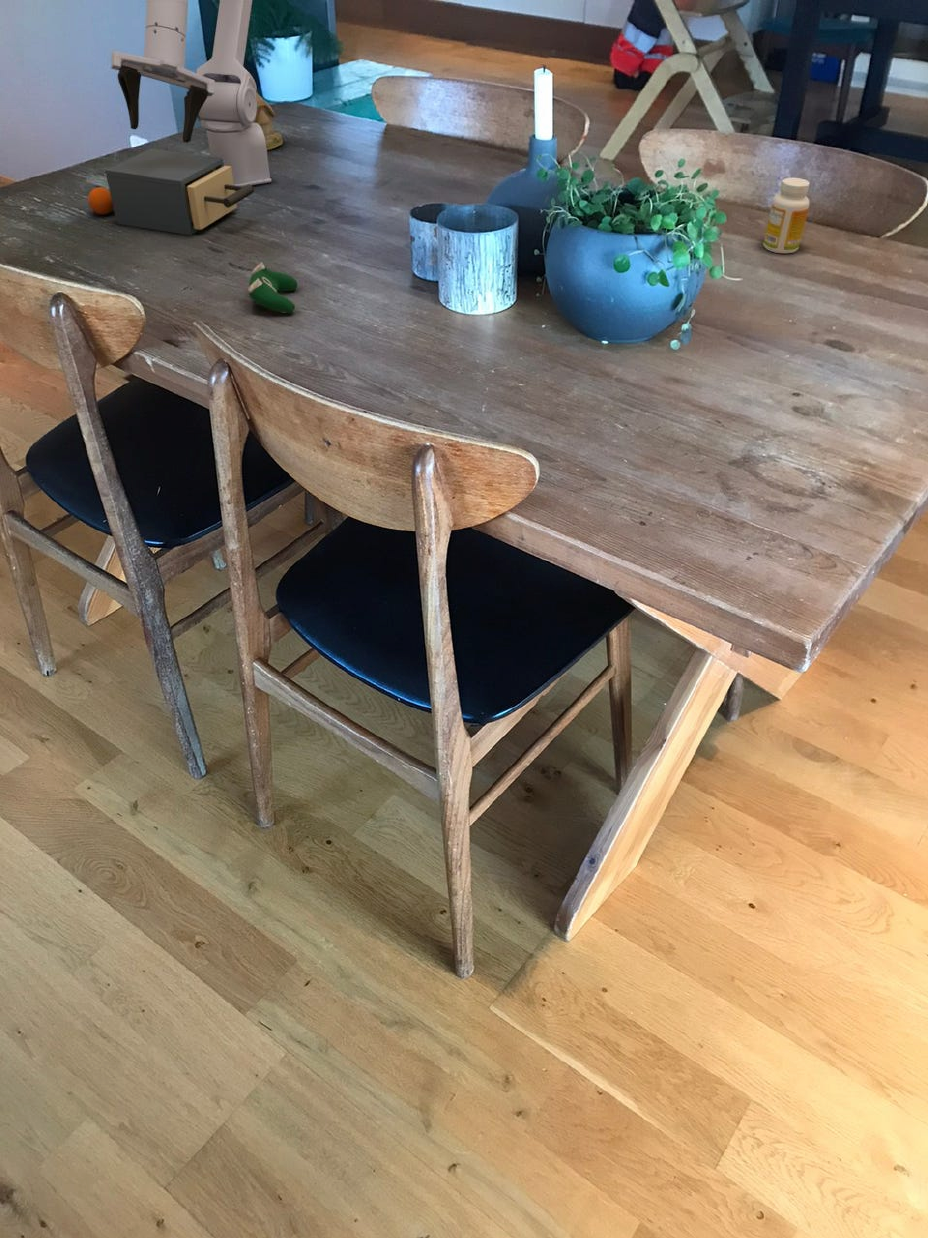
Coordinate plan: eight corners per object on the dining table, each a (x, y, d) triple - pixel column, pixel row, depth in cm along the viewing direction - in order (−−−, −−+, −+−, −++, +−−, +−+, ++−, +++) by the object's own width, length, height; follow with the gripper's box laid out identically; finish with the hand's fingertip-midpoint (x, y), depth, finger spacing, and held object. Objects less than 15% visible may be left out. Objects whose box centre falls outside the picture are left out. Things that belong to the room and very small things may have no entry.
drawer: (263, 211, 151) (258, 169, 146) (228, 234, 143) (221, 191, 139) (172, 197, 155) (164, 156, 151) (133, 218, 148) (123, 177, 143)
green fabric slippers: (283, 300, 132) (248, 271, 129) (299, 280, 130) (265, 251, 127) (279, 329, 125) (242, 299, 122) (296, 309, 123) (259, 278, 120)
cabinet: (231, 210, 153) (223, 157, 148) (190, 235, 145) (180, 180, 140) (161, 199, 157) (150, 147, 151) (117, 223, 148) (104, 169, 143)
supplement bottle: (799, 243, 145) (816, 177, 138) (796, 256, 141) (813, 189, 134) (764, 239, 146) (779, 173, 140) (760, 251, 142) (775, 184, 136)
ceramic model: (209, 139, 183) (200, 81, 176) (257, 128, 188) (250, 72, 182) (249, 155, 175) (241, 96, 168) (298, 143, 181) (292, 86, 174)
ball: (114, 207, 154) (108, 182, 151) (120, 215, 151) (114, 189, 148) (89, 211, 152) (82, 186, 150) (95, 219, 150) (88, 193, 147)
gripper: (119, 9, 129) (115, 115, 132) (222, 42, 137) (216, 142, 140) (110, 24, 135) (106, 125, 138) (209, 54, 142) (204, 150, 145)
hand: (160, 134), depth 139 cm, fingers open, 7 cm apart
